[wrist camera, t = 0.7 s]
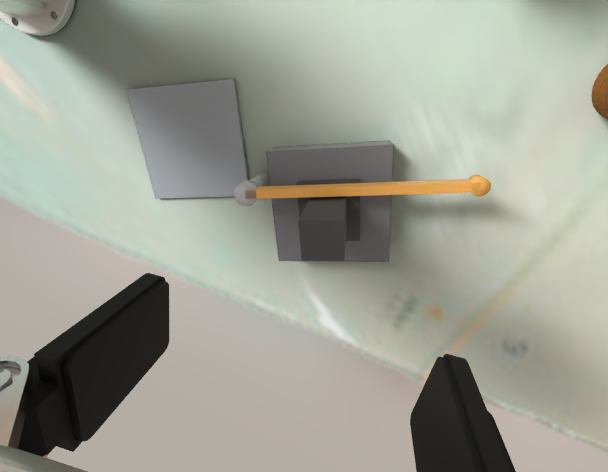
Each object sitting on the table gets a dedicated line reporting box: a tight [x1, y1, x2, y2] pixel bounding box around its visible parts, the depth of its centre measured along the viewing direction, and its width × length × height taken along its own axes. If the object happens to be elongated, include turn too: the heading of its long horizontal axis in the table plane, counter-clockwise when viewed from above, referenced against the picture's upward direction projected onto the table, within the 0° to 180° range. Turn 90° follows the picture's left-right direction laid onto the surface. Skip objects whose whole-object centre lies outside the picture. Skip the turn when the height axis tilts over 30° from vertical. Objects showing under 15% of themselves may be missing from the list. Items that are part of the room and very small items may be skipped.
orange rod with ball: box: [234, 175, 491, 206], centre depth 32 cm, size 26×3×2 cm, turn 94°
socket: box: [251, 141, 393, 262], centre depth 38 cm, size 17×14×6 cm
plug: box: [296, 178, 360, 261], centre depth 33 cm, size 7×7×12 cm
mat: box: [127, 79, 249, 199], centre depth 40 cm, size 14×14×1 cm
